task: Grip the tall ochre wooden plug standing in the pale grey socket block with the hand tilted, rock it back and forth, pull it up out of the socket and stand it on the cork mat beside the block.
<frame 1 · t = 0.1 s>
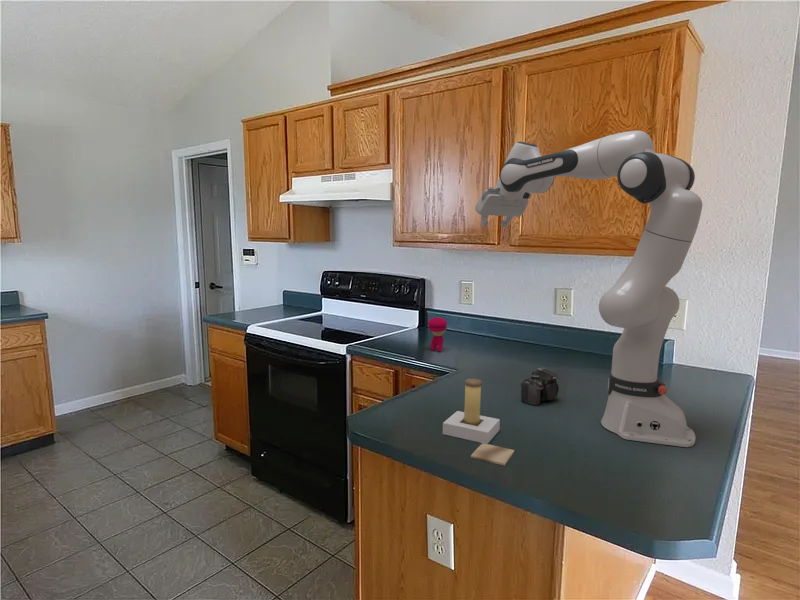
hand: (493, 225, 171), 54 cm above the worktop, tool tilted 30°, fingers open, 8 cm apart
mat: (492, 454, 114), on the worktop
toy: (436, 351, 214), on the worktop
socket block: (471, 432, 127), on the worktop
camera: (540, 400, 153), on the worktop
plug: (472, 406, 126), in the socket block
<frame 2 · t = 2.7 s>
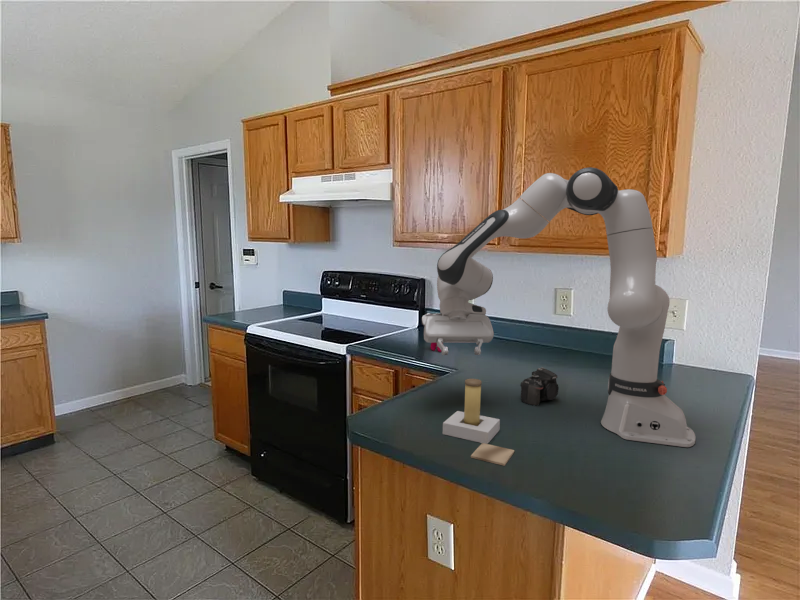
hand: (461, 354, 138), 18 cm above the worktop, tool tilted 45°, fingers open, 8 cm apart
nothing on the worktop moved.
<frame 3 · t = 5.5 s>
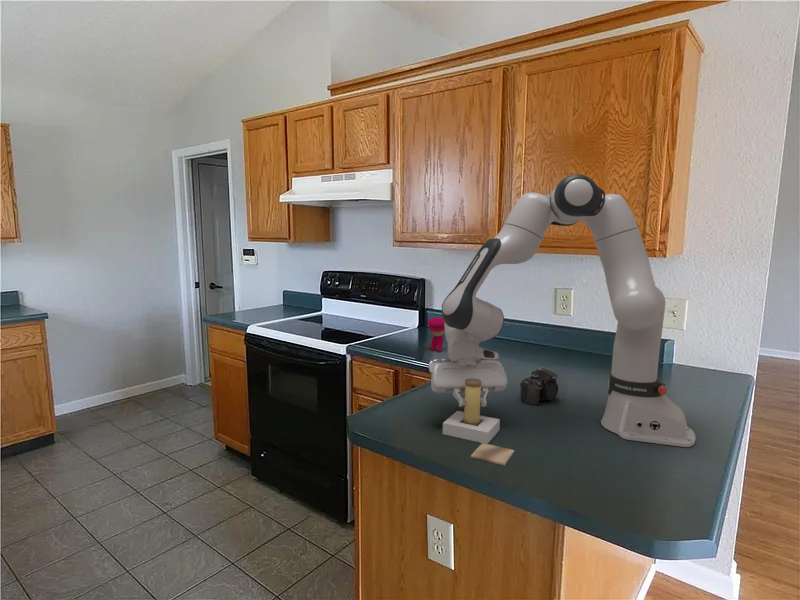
hand: (473, 405, 126), 7 cm above the worktop, tool tilted 45°, fingers closed on plug, 4 cm apart
plug: (472, 406, 126), in the socket block, touching gripper
everything else where it was.
when the fingers open (9 cm above the worktop, at t = 11.6 s): plug stays where it is, resting on mat.
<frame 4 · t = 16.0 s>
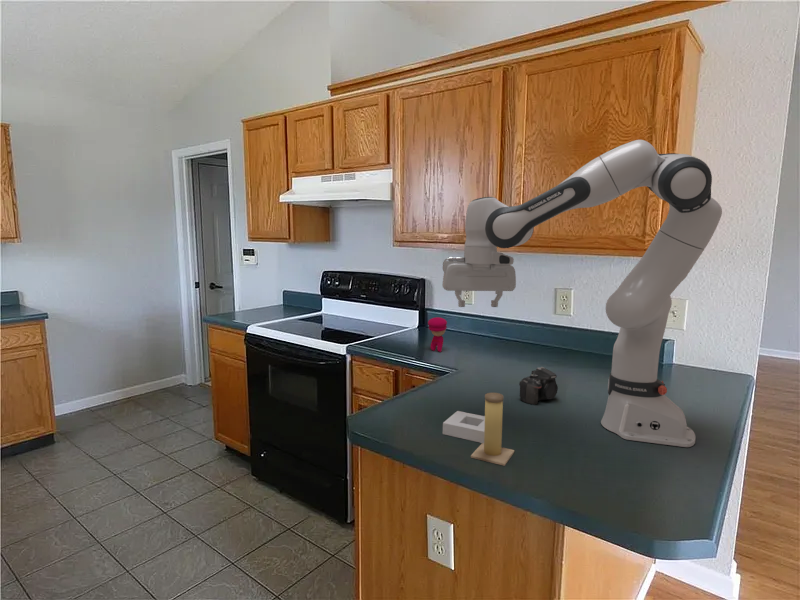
hand: (478, 306, 136), 31 cm above the worktop, tool pointing down, fingers open, 8 cm apart
plug: (493, 423, 114), on the mat
everything else where it was.
at the end: plug 0.5 cm from the mat (horizontally); plug tilted 2°; plug point 7.5 cm above the worktop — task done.
